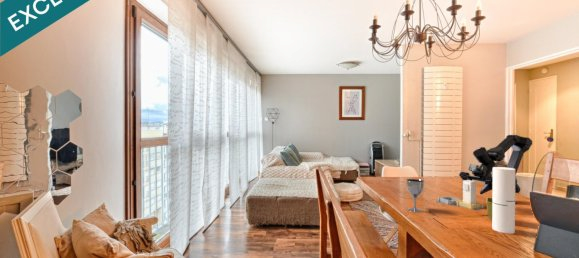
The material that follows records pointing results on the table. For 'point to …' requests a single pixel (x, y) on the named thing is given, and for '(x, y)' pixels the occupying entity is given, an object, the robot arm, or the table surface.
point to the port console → (460, 203)
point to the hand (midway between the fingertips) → (471, 191)
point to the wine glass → (415, 191)
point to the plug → (469, 191)
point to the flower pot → (489, 207)
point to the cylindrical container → (503, 200)
